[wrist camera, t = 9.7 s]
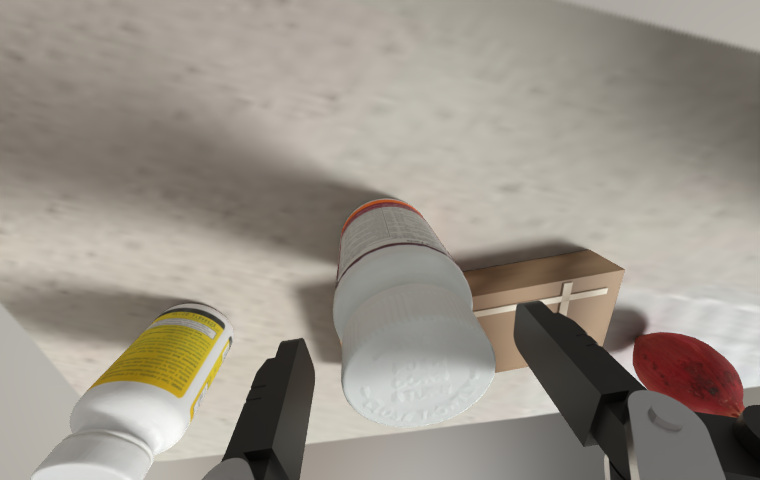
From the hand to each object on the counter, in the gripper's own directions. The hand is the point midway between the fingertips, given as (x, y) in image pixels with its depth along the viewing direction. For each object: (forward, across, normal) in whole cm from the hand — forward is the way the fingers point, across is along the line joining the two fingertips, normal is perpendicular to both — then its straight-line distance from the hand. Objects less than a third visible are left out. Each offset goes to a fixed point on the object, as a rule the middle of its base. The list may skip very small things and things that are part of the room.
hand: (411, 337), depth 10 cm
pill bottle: (+10, 0, 0) cm, 10 cm away
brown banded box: (+10, -6, +8) cm, 14 cm away
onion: (+10, -23, +15) cm, 29 cm away
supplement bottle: (+10, +15, +5) cm, 19 cm away
